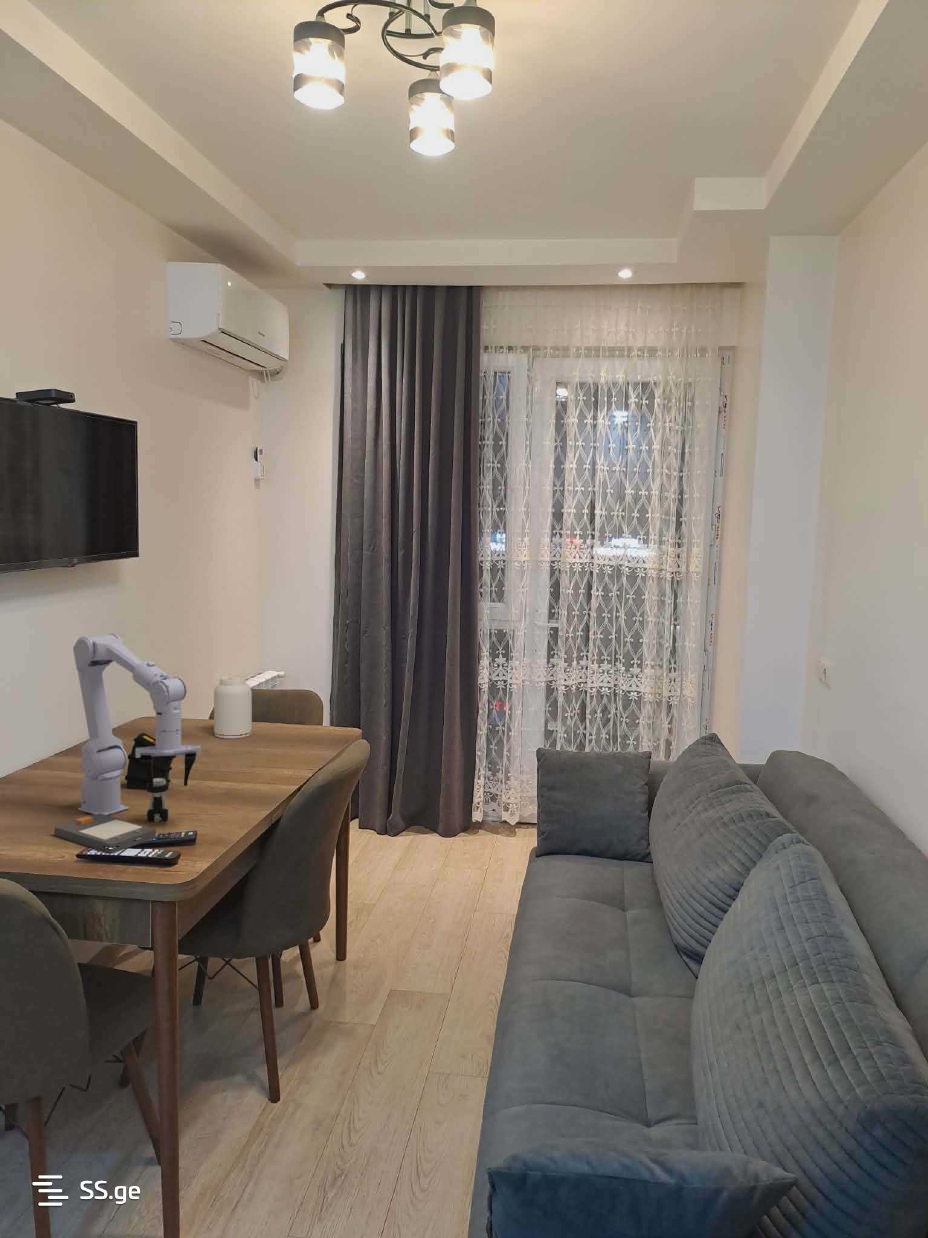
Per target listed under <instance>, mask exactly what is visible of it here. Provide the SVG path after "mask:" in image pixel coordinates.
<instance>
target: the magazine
mask: <svg viewBox="0 0 928 1238" xmlns="http://www.w3.org/2000/svg"><path fill="white" fill-rule="evenodd" d="M133 742H134V744H133V746H132V748H131V752H130V753H129V754H127V757H128V760H129V761H128V762H127V771H126V772H127V773H126V774H125V775H124V780H125V781H126V789H130V790H146V791H147V787H146V784H147V783H149V780H148V777H147V774H146V772H145V770H144V768H143V766H142V764H141V762H140V760H141V757H140V758H136V748H141V747H150V746H156V737H155V738H154V737H152V736H151V735H148V733H145V732H141V733H139V734H137V736H136V737H135V738H134V739H133ZM177 756H178V755H175V756H153V779H155V778H163V779H165V781H166V782H169V783H171V780H172V779H170V777H169V776H170V771H172V769H173V767H171V765H172V763H173V761H174V759H175V758H177Z"/></svg>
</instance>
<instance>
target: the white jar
mask: <svg viewBox="0 0 928 1238" xmlns="http://www.w3.org/2000/svg"><path fill="white" fill-rule="evenodd" d="M251 688H252V687H251V686H250V685H249V684H248V683H247V680H246V678H245V677H244V676H237V675H236V676H235V675H233V676H231V675H229V676H223V677H221V678H220V679H219V684H217V685H216V686H215V688H214V692H213V733H214V732H215V733H217V734H224V735H240V734H245V733H249V732H250V731H251V730H252V731H253V728H252V725H253V724H252V723H253V722H252V721H253V720H252V718H253V714H252V713H253V709H252V708H253V707H252V706H253V702H252V699H253V698H252V697H253V693H252V689H251ZM251 735H252V732H251V733H250V734H247V735H242V736H219V735H216V734H214V736H215V737H217V738H220V739H226V740H227V739H228V740H229V739H230V740H231V739H232V740H233V739H234V740H235V739H242V738H247V737H249V736H251Z"/></svg>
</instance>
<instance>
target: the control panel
mask: <svg viewBox="0 0 928 1238" xmlns="http://www.w3.org/2000/svg"><path fill="white" fill-rule="evenodd" d="M53 828H54V836H55V837H58V838H61V839H65V840H68V841H71V842H74V843H76V844H80V845H82V846H86V847H89V848H93V849H95V850H97V851H101V852H104V853H108V854H114V853H117V852H119V851H122V850H126V849H129V848H132V847H134V846H136V845H140V844H143V843H145V842H148V841H151V840H153V839H156V838H157V830H156V828H152V827H149V826H145V825H141V824H138V823H136V822H135V823H134V822H132V821H127V820H125V819H120V818H118V817H114V816H111V815H104V814H100V813H99V814H96V815H94V814H92V815H89V816H88V815H87V816H83V817H80V818H77V819H75V820H74V821H70V822H67V823H64V824H63V823H62V824H59V825H56V826H54V827H53ZM138 838H142V839H139V840H136V839H138ZM134 840H136V841H134ZM132 841H133V842H132ZM96 844H101V845H103V846H107V847H116V846H119V847H116V848H113V849H109V848H106V847H103V846H99V845H96Z"/></svg>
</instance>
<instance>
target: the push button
mask: <svg viewBox="0 0 928 1238" xmlns="http://www.w3.org/2000/svg"><path fill="white" fill-rule="evenodd" d="M169 786H170V782H166V781H165V779H163V778H155V779H153V787H152V788H150V786H149V783H147V784H146V787H147V790H146V791H147V793H149V806H148V810H147V812H146V814H143V813H142V814H140V820H147V823H148V822H149V823H150V822H152V823H154V822H157V823H158V822H167V821H168V820H169V808H168V807H167V804H166V801H167V800H166V792H167V791H168V790H169ZM145 816H146V817H145Z"/></svg>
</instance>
